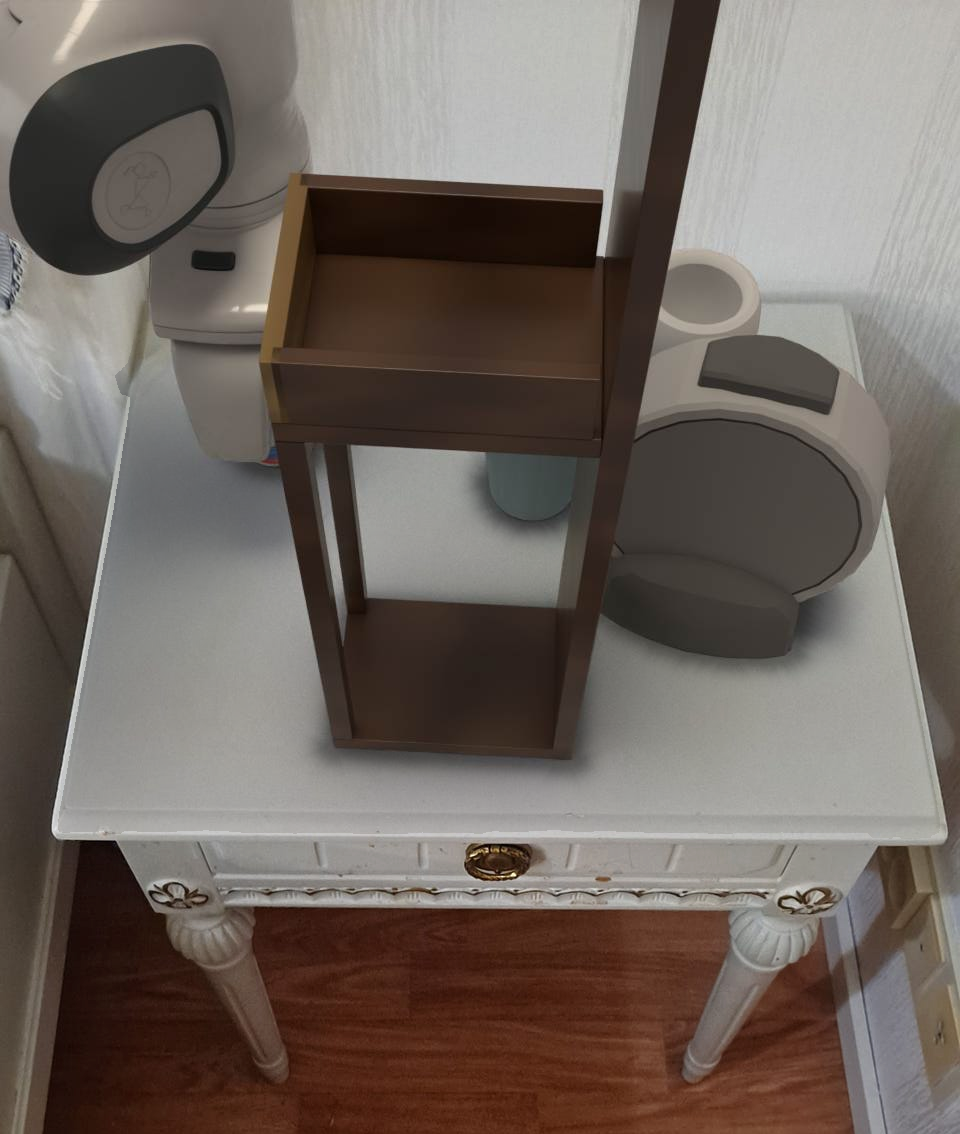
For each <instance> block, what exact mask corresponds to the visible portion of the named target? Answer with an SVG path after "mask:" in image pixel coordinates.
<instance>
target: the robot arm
mask: <svg viewBox="0 0 960 1134" xmlns="http://www.w3.org/2000/svg"><path fill="white" fill-rule="evenodd" d="M299 47H300V46H299V37H298V29H297V21H296V14H295V6H294V0H0V231H1V233H4V234H5V235H6V236H8V237H9V238H11V240H13V241H14V242H16V243H18V244H19V245H20V246H22V247H23V248H24V249H26V250H27V251H29V252H30V253H32V254H34V255H35V256H37V257H38V258H39V259H41V260H42V261H44V262H45V263H47V264H48V265H49V266H51V267H53V268H55V269H57V270H59V271H61V272H64V273H66V274H71V275H75V276H84V277H85V276H89V277H90V276H101V275H106V274H110V273H113V272H117V271H121V270H122V269H125V268H127V267H129V266H132V265H133V264H136V263H137V262H139V261H141V260H143V259H144V258H146V257H147V256H149V265H148V266H149V268H148V269H149V272H148V313H149V317H150V321H151V325H152V328H153V330H154V331H153V332H154V333H155V335H156V337H158V338H162V339H167V340H170V353H171V362H172V366H173V371H174V375H175V379H176V383H177V387H178V389H179V394H180V396H181V399H182V402H183V405H184V409H185V412H186V414H187V417H188V420H189V423H190V426H191V428H192V431H193V434H194V437H195V439H196V442H197V444H198V446H199V448H200V450H201V451H202V452H203V453H204V455H206V456H207V457H209V458H211V459H213V460H217V461H224V462H233V463H234V462H235V463H256V462H259V461H264V460H266V459H267V458H268V456H269V453H270V447H273V446H275V443H274V437H273V432H272V427H271V422H270V418H269V412H268V407H267V402H266V397H265V392H264V387H263V382H262V377H261V372H260V367H259V357H260V351H261V345H262V339H263V333H264V327H265V321H266V315H267V309H268V303H269V297H270V291H271V285H272V279H273V273H274V267H275V261H276V255H277V249H278V243H279V237H280V231H281V225H282V219H283V213H284V207H285V201H286V195H287V189H288V183H289V177H290V173H305V174H315V173H314V165H313V158H312V156H313V155H312V147H311V140H310V139H311V137H310V133H309V129H308V124H307V122H306V119H305V117H304V114H303V112H302V109H301V107H300V104H299V102H298V98H297V83H298V76H299V71H300V48H299Z"/></svg>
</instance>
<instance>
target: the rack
mask: <svg viewBox="0 0 960 1134" xmlns="http://www.w3.org/2000/svg"><path fill="white" fill-rule="evenodd" d="M721 1H722V0H639V3H638V11H637V18H636V25H635V32H634V40H633V47H632V55H631V62H630V68H629V76H628V83H627V91H626V99H625V106H624V113H623V118H622V119H623V120H622V127H621V135H620V140H619V141H620V142H619V149H618V155H617V164H616V171H615V179H614V185H613V193H612V201H611V206H610V207H611V208H610V214H609V222H608V228H607V229H608V230H607V236H606V243H605V250H604V251H605V252H604V256H603V255H598V249H599V248H598V247H599V241H600V239H599V238H600V231H601V224H602V218H603V217H602V215H603V208H604V190H603V189H599V188H598V189H597V188H581V187H580V188H579V187H562V186H545V185H544V186H543V185H528V184H527V185H524V184H505V183H489V182H488V183H487V182H469V181H468V182H467V181H452V180H451V181H450V180H433V179H432V180H431V179H414V178H395V177H375V176H357V175H339V174H338V175H337V174H320V173H319V174H318V173H314V174H305V173H290V177H289V183H288V189H287V195H286V201H285V207H284V213H283V219H282V225H281V231H280V237H279V243H278V249H277V255H276V261H275V267H274V273H273V279H272V285H271V291H270V297H269V303H268V309H267V315H266V321H265V327H264V333H263V339H262V345H261V351H260V357H259V367H260V372H261V377H262V382H263V387H264V392H265V397H266V402H267V407H268V412H269V418H270V422H271V427H272V432H273V437H274V443H275V448H276V453H277V458H278V464H279V466H278V468H279V473H280V478H281V484H282V488H283V494H284V498H285V499H284V500H285V505H286V508H287V514H288V519H289V524H290V530H291V534H292V539H293V545H294V550H295V553H296V554H295V556H296V560H297V566H298V571H299V576H300V581H301V585H302V591H303V596H304V601H305V606H306V611H307V616H308V620H309V626H310V630H311V637H312V641H313V646H314V651H315V656H316V662H317V667H318V673H319V676H320V683H321V688H322V692H323V698H324V704H325V708H326V713H327V718H328V723H329V728H330V734H331V738H332V744H333V747H335V748H349V749H350V748H351V749H365V750H384V751H385V750H388V751H406V752H423V753H440V754H459V755H461V754H462V755H477V756H478V755H479V756H497V757H512V758H513V757H514V758H516V757H517V758H531V759H532V758H534V759H551V760H569V761H570V760H572V758H573V754H574V748H575V742H576V737H577V733H578V727H579V723H580V719H581V713H582V708H583V702H584V697H585V692H586V686H587V683H588V677H589V671H590V667H591V662H592V657H593V651H594V647H595V641H596V635H597V631H598V625H599V621H600V616H601V612H600V611H601V606H602V601H603V596H604V591H605V586H606V581H607V576H608V571H609V566H610V560H611V555H612V550H613V545H614V540H615V535H616V530H617V525H618V520H619V515H620V510H621V505H622V500H623V494H624V489H625V484H626V479H627V474H628V469H629V464H630V459H631V454H632V449H633V444H634V439H635V434H636V428H637V423H638V418H639V413H640V408H641V403H642V398H643V393H644V388H645V383H646V378H647V373H648V368H649V363H650V357H651V352H652V347H653V342H654V337H655V332H656V327H657V322H658V317H659V312H660V307H661V302H662V297H663V291H664V286H665V281H666V276H667V271H668V266H669V261H670V256H671V252H672V251H673V245H674V241H675V236H676V235H675V234H676V230H677V225H678V219H679V216H680V215H679V214H680V211H681V205H682V201H683V194H684V189H685V186H686V185H685V184H686V179H687V174H688V169H689V163H690V160H691V159H690V158H691V154H692V149H693V144H694V139H695V134H696V129H697V125H698V119H699V113H700V108H701V105H702V98H703V93H704V88H705V83H706V77H707V73H708V68H709V63H710V58H711V54H712V53H711V52H712V48H713V43H714V36H715V32H716V27H717V22H718V17H719V13H720V12H719V11H720V6H721ZM311 443H315V444H322V447H323V448H322V449H323V455H324V462H325V463H324V464H325V470H326V476H327V477H326V478H327V483H328V491H329V496H330V504H331V510H332V518H333V525H334V532H335V539H336V546H337V552H338V554H337V555H338V560H339V567H340V574H341V580H342V588H343V595H344V601H345V610H346V618H345V625H344V634H343V635H344V636H343V638H342V632H341V626H340V625H341V624H340V619H339V614H338V607H337V599H336V595H335V593H336V592H335V587H334V582H333V581H334V580H333V577H332V576H333V574H332V568H331V562H330V557H329V550H328V543H327V535H326V530H325V523H324V518H323V510H322V505H321V497H320V492H319V484H318V478H317V472H316V465H315V460H314V453H313V448H312V446H311ZM352 446H363V447H381V448H400V449H418V450H419V449H420V450H436V451H455V452H472V453H473V452H475V453H485V452H491V453H509V454H528V455H547V456H565V457H577V462H576V469H575V476H574V484H573V491H572V498H571V500H570V506H569V512H568V513H569V514H568V520H567V528H566V535H565V543H564V550H563V556H562V557H563V558H562V564H561V565H562V566H561V572H560V579H559V586H558V593H557V601H556V607H546V606H525V605H508V604H492V603H491V604H490V603H471V602H470V603H469V602H452V601H434V600H433V601H432V600H417V599H416V600H415V599H397V598H381V597H380V598H376V597H369V596H368V595H369V594H368V586H367V578H366V568H365V560H364V552H363V551H364V550H363V541H362V534H361V524H360V516H359V508H358V507H359V506H358V498H357V491H356V480H355V479H356V478H355V471H354V462H353V454H352Z"/></svg>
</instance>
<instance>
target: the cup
mask: <svg viewBox="0 0 960 1134" xmlns="http://www.w3.org/2000/svg"><path fill="white" fill-rule="evenodd" d="M484 453H485V461H486V469H487V470H486V472H487V479H488V480H487V481H488V486H489V487H488V488H489V491H490V494H491V497H492V499H493V501H494V503H495V504H496V506H497V507H498V508H499V509H501V511H503V512H504V513H506V514H507V515H508V516H511V517H513V518H516V519H519V520H523V521H543V520H547V519H550V518H553V517H554V516H556V515H559V514H560V513H561V512H562V511H563V510H565V508H566V507H567V506H568V505H569V503H571V498H572V491H573V484H574V476H575V469H576V462H577V457H565V456H547V455H528V454H509V453H491V452H484Z"/></svg>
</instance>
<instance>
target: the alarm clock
mask: <svg viewBox="0 0 960 1134" xmlns="http://www.w3.org/2000/svg"><path fill="white" fill-rule="evenodd" d="M891 461H892V453H891V443H890V429H889V427H888V425H887V423H886V421H885V418H884V417H883V414H882V413H881V410H880V408H879V405H878V404H877V402H876V400H875V398H874V397H873V396H872V395H871V394H870V393H869V392H868V391H867V390H866V388H864V387H863V386H862V384H861V383H860V382H859V381H858V380H857V379H856V378H855V377H854V376H853V375H852V374H851V373H850V372H848V371H847V370H846V369H844V368H842V367H841V366H839V365H837V364H836V363H834V362H832V361H831V360H829V359H827V358H826V357H824V356H823V355H821V354H820V353H818V352H816V351H814V350H812V349H811V348H808V347H807V346H804V345H802V344H801V343H798V342H796V341H792V340H790V339H787V338H784V337H782V336H775V335H765V334H763V335H762V334H757V335H742V336H739V335H733V336H724V337H715V338H705V339H696V340H693V341H690V342H687V343H684V344H681V345H678V346H676V347H673V348H670V349H667V350H664V351H661V352H659V353H658V354H656V355H655V356H653V357H652V358H650V363H649V368H648V373H647V378H646V383H645V388H644V393H643V398H642V403H641V408H640V413H639V418H638V423H637V428H636V434H635V439H634V444H633V449H632V454H631V459H630V464H629V469H628V474H627V479H626V484H625V489H624V494H623V500H622V505H621V510H620V515H619V520H618V525H617V530H616V535H615V540H614V545H613V550H612V555H611V560H610V566H609V571H608V576H607V581H606V586H605V591H604V596H603V601H602V606H601V611H600V614H602V615H604V616H605V617H607V618H608V619H610V620H611V621H613V622H614V623H616V625H619V626H621V627H623V628H625V629H627V630H630V631H631V632H634V633H635V634H638V635H640V636H642V637H644V638H647V639H648V640H651V641H654V642H656V643H660V644H663V645H666V646H669V647H672V648H676V649H679V650H681V651H685V652H690V653H695V654H696V653H697V654H701V655H708V656H714V657H720V658H740V659H742V658H743V659H764V658H772V657H774V658H775V657H783V656H785V655H786V654H788V653H789V652H790V651H791V650H792V645H793V639H794V636H795V630H796V625H797V620H798V616H799V611H800V606H801V602H804V601H806V600H809V599H810V598H813V597H815V596H818V595H821V594H823V593H825V592H829V591H830V590H832V589H833V588H834V587H836V586H837V585H839V584H840V583H842V582H843V581H844V580H846V579H847V578H849V577H850V576H851V575H853V574H854V573H856V571H857V569H859V567H860V566H861V565H862V563H863V562H864V561H865V559H866V558H867V557H868V556H869V554H870V553H871V551H872V550H873V547H874V543H875V540H876V537H877V533H878V530H879V527H880V523H881V518H882V511H883V506H884V500H885V495H886V490H887V484H888V478H889V471H890V467H891Z"/></svg>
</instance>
